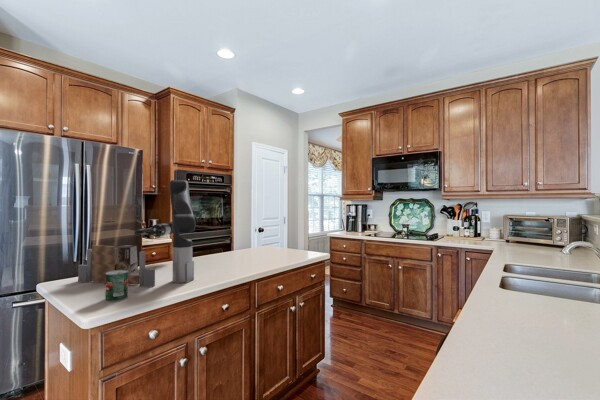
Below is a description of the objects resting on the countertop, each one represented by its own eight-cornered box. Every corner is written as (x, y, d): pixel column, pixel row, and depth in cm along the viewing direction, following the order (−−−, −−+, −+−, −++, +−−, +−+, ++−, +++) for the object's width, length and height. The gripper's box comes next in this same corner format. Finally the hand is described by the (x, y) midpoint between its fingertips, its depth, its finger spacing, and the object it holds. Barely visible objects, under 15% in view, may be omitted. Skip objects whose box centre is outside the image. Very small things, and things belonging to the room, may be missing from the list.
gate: (139, 284, 140) (139, 247, 140) (137, 284, 139) (137, 247, 139) (93, 280, 145) (93, 245, 145) (91, 281, 144) (91, 245, 144)
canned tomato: (100, 300, 118) (100, 273, 118) (119, 294, 126) (119, 268, 126) (114, 303, 115) (114, 275, 115) (132, 297, 123) (132, 270, 123)
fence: (155, 285, 139) (155, 251, 139) (151, 287, 136) (152, 252, 136) (81, 280, 147) (81, 248, 147) (77, 281, 145) (77, 249, 145)
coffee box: (138, 275, 157) (138, 245, 157) (130, 278, 151) (130, 247, 151) (122, 275, 158) (122, 245, 158) (113, 278, 152) (113, 246, 152)
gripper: (150, 223, 183) (130, 226, 167) (171, 224, 180) (152, 226, 164) (150, 235, 183) (130, 239, 167) (171, 236, 180) (152, 240, 164)
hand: (141, 233), depth 165 cm, fingers open, 8 cm apart
